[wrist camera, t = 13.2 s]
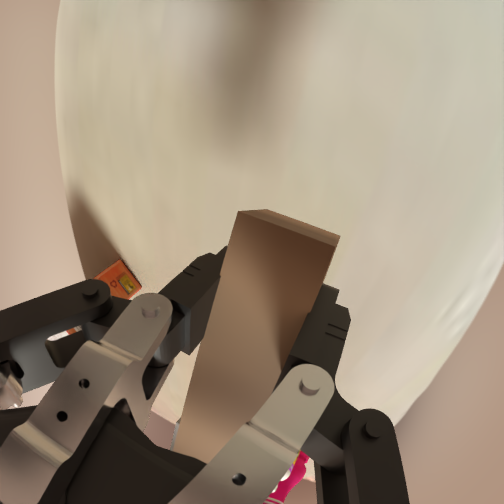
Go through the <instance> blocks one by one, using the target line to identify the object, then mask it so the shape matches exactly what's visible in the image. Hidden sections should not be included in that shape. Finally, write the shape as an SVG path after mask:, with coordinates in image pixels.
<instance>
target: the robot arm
mask: <svg viewBox="0 0 504 504" xmlns="http://www.w3.org/2000/svg"><path fill="white" fill-rule="evenodd" d="M227 247H228V246H225V247H224V248H223V249H222V250H221V251H220V252H219V253H218V254H216V255H214V254H212V253H208V254H205V255H202V256H200V257H197V258H196V259H195V260H194V261H193V262H192V263H191V264H190V265H189V266H187V267H186V268H185V269H184V270H183V272H181V273H180V274H178V275H177V276H176V277H175V278H174V279H173V280H172V281H171V282H170V283H168V284H167V285H166V286H165V287H164V288H163V289H162V290H161V291H160V292H159V293H145V294H141V295H139V296H137V297H136V298H134V299H133V300H128V299H124V298H120V297H116V296H112V295H111V291H110V287H109V285H108V284H107V283H106V282H104V281H102V280H98V279H89V280H85V281H82V282H79V283H76V284H74V285H71V286H68V287H65V288H62V289H60V290H56V291H54V292H51V293H48V294H45V295H42V296H40V297H37V298H34V299H31V300H29V301H26V302H23V303H20V304H18V305H15V306H12V307H9V308H7V309H4V310H1V311H0V504H263V503H264V502H265V500H266V499H267V498H268V497H269V495H270V494H271V493H272V491H273V490H274V489H275V487H276V486H277V485H278V483H279V482H280V481H281V479H282V478H283V476H284V475H285V474H286V472H287V471H288V469H289V468H290V466H291V465H292V464H293V462H294V461H295V459H296V457H297V455H298V453H299V450H301V451H302V452H304V453H305V454H306V455H307V456H309V457H310V458H311V459H313V460H314V468H315V480H316V491H317V504H410V503H409V498H408V492H407V486H406V481H405V476H404V471H403V466H402V461H401V456H400V452H399V447H398V443H397V439H396V434H395V430H394V427H393V424H392V422H391V420H390V419H389V417H388V416H387V415H385V414H384V413H383V412H381V411H379V410H376V409H363V410H360V411H358V410H357V409H356V408H354V407H353V406H351V405H350V404H349V403H347V402H346V401H345V400H344V399H343V398H342V397H341V396H340V394H339V393H338V391H337V389H336V385H335V375H336V371H337V368H338V365H339V361H340V358H341V354H342V351H343V347H344V344H345V340H346V337H347V332H348V329H349V325H350V321H351V319H350V315H349V311H348V308H345V307H343V306H340V305H338V304H335V303H336V300H337V296H338V293H339V289H336V288H334V287H331V286H329V285H326V284H323V283H322V286H321V288H320V290H319V293H318V295H317V298H316V300H315V302H314V305H313V307H312V309H311V312H310V313H309V312H308V314H307V316H306V318H305V321H304V323H303V325H302V327H301V329H300V332H299V334H298V336H297V338H296V340H295V342H294V345H293V347H292V349H291V351H290V353H289V355H288V358H287V360H286V362H285V365H284V367H283V369H282V371H281V374H280V376H279V378H278V380H277V383H276V385H275V387H274V389H273V392H272V394H271V396H270V397H269V398H268V400H267V401H266V402H265V403H264V405H263V406H262V407H261V408H260V410H259V411H258V412H257V413H256V415H255V416H254V417H253V418H252V419H251V420H250V421H249V422H246V423H245V424H244V425H243V426H242V427H241V428H240V429H239V430H238V431H237V432H236V433H235V434H234V436H233V437H232V438H231V439H230V440H229V441H228V442H227V443H226V445H225V446H224V447H223V448H222V449H221V450H220V451H219V452H218V453H217V454H216V455H215V457H214V458H213V459H212V460H211V461H210V462H209V463H208V464H206V463H204V462H202V461H201V460H199V459H197V458H195V457H191V456H187V455H184V454H181V453H177V452H174V451H171V450H168V449H164V448H161V447H158V446H156V445H155V444H154V443H153V442H152V441H151V440H149V438H148V437H147V436H146V435H145V434H144V433H143V432H144V430H145V428H146V425H147V423H148V420H149V417H150V410H151V407H152V404H153V402H154V400H155V399H156V397H157V395H158V393H159V391H160V389H161V387H162V386H163V384H164V382H165V380H166V378H167V376H168V374H169V373H170V371H171V369H172V367H173V365H174V358H175V357H176V356H177V354H178V353H179V352H180V351H182V352H184V353H186V354H188V355H190V354H191V353H192V352H193V350H194V349H195V348H196V347H197V345H198V344H199V343H200V342H201V340H202V339H203V338H204V335H205V331H206V328H207V324H208V320H209V317H210V313H211V310H212V306H213V302H214V299H215V295H216V292H217V288H218V285H219V281H220V278H221V276H220V272H221V268H222V265H223V261H224V258H225V254H226V251H227ZM77 326H81V329H82V330H80V331H78V332H75V333H72V334H70V335H67V336H65V337H62V338H59V339H57V340H53V341H51V340H48V338H49V337H51V336H53V335H56V334H59V333H61V332H64V331H67V330H69V329H72V328H74V327H77ZM54 381H55V382H54ZM51 382H54V383H53V385H52V386H51V387H50V389H49V390H48V392H47V393H46V394H45V396H44V397H43V399H42V400H41V401H40V403H39V404H38V405H36V406H29V407H22V408H15V409H8V408H9V407H10V406H13V407H19V406H21V404H22V402H23V399H22V397H21V395H22V394H23V393H26V392H28V391H30V390H33V389H36V388H39V387H41V386H44V385H46V384H49V383H51Z"/></svg>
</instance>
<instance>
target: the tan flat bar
mask: <svg viewBox="0 0 504 504" xmlns="http://www.w3.org/2000/svg"><path fill="white" fill-rule="evenodd" d="M339 239H340V236H339V235H336V234H334V233H331V232H328V231H326V230H323V229H320V228H317V227H315V226H312V225H309V224H307V223H304V222H301V221H298V220H296V219H293V218H290V217H287V216H284V215H281V214H279V213H276V212H273V211H270V210H267V209H264V210H249V211H238V213H237V217H236V220H235V224H234V227H233V230H232V234H231V237H230V240H229V244H228V247H227V251H226V254H225V258H224V261H223V265H222V268H221V272H220V276H221V278H220V281H219V285H218V288H217V292H216V295H215V299H214V302H213V306H212V310H211V313H210V317H209V320H208V324H207V328H206V331H205V335H204V338H203V339H202V340H201V343H200V347H199V351H198V355H197V358H196V362H195V366H194V370H193V373H192V377H191V381H190V385H189V389H188V393H187V396H186V400H185V404H184V408H183V412H182V416H181V418H180V419H179V420H178V421H177V422H176V427H175V431H174V435H173V439H172V444H171V448H170V450H171V451H174V452H177V453H181V454H184V455H187V456H191V457H195V458H197V459H199V460H201V461H202V462H204V463H206V464H208V463H209V462H210V461H211V460H212V459H213V458H214V457H215V455H216V454H217V453H218V452H219V451H220V450H221V449H222V448H223V447H224V446H225V445H226V443H227V442H228V441H229V440H230V439H231V438H232V437H233V436H234V434H235V433H236V432H237V431H238V430H239V429H240V428H241V427H242V426H243V425H244V424H245V423H246V422H249V421H250V420H251V419H252V418H253V417H254V416H255V415H256V413H257V412H258V411H259V410H260V408H261V407H262V406H263V405H264V403H265V402H266V401H267V400H268V398H269V397H270V396H271V394H272V392H273V389H274V387H275V385H276V383H277V380H278V378H279V376H280V374H281V371H282V369H283V367H284V365H285V362H286V360H287V358H288V355H289V353H290V351H291V349H292V347H293V345H294V342H295V340H296V338H297V336H298V334H299V332H300V329H301V327H302V325H303V323H304V321H305V318H306V316H307V314H308V312H309V313H310V312H311V309H312V307H313V305H314V302H315V300H316V298H317V295H318V293H319V290H320V288H321V286H322V283H323V281H324V279H325V276H326V274H327V271H328V268H329V266H330V263H331V261H332V258H333V255H334V252H335V250H336V247H337V244H338V241H339Z"/></svg>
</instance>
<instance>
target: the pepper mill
mask: <svg viewBox="0 0 504 504" xmlns="http://www.w3.org/2000/svg"><path fill="white" fill-rule="evenodd" d="M308 459H309V456H307V455H306V454H305V453H304V452H302V451H301V450H300V453H299V455H298V457H297V460H296V462H295V464H294V467H293V469H292V471H291V473H290V475H289V477H288V478H287V479H285V480H283V481H280V482H279V483H278V487H277V489H276V491H275V492H273V493H271V494H270V495H269V497H268V498H267V499H266V500H265V502H264V503H263V504H284V500H285V498H286V496H287V494H288V493H289V491H290V490H291V489H292V488H293V487H294V486H295V485H296V484H297V483H298V482H299V481H300V480H301V479H302V478H303V477H304V475H305V473H306V467H305V465H304V464H305V463H307V462H308Z"/></svg>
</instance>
